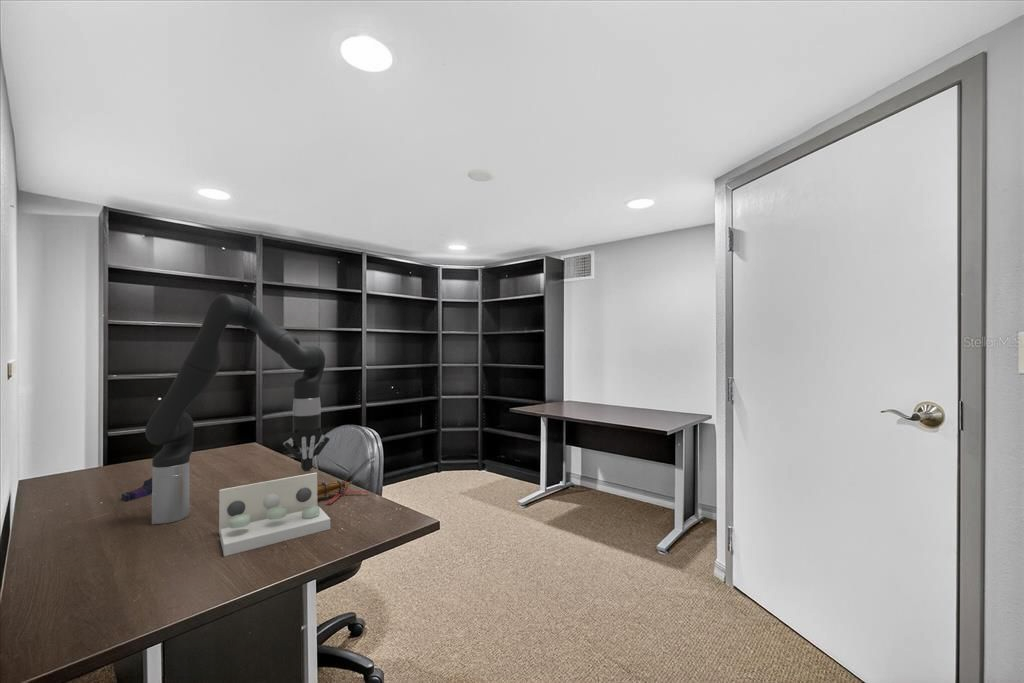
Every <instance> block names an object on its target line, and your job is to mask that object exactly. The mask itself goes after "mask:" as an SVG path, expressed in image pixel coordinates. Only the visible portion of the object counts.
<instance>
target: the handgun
mask: <svg viewBox="0 0 1024 683" xmlns="http://www.w3.org/2000/svg"><path fill="white" fill-rule="evenodd" d="M149 495H152V477H151V478H149V479H147V480H144V481H143V486H141V487H139V488H137V489H133V490H131V491H127V492H123V493H121V500H122V501H124V502H129V501H133V500H137V499H139V498H143V497H146V496H149Z"/></svg>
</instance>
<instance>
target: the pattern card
mask: <svg viewBox="0 0 1024 683" xmlns="http://www.w3.org/2000/svg"><path fill="white" fill-rule="evenodd" d="M317 485H318V472H312V473H305V474H301V475H295V476H289V477H283V478H278V479H272V480H266V481H260V482H254V483H250V484H243V485H238V486H233V487H227V488H220V489H219V490H218V494H219V496H218V497H219V498H218V499H219V500H218V505H219V506H218V507H219V508H218V513H219V514H218V517H219V518H218V519H219V520H218V522H219V524H218V526H219V527H218V535H219V537H220V529H224V528H229V519H230V518H231V517H233V516H235V515H239V514H250V523H251V522H255V521H260V520H264V519H267V510H268V509H270V508H273V507H277V506H285V507H286V515H287V514H291V513H295V512H300V511H302V509H303V508H305V507H309V506H318V498H317Z"/></svg>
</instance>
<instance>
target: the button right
mask: <svg viewBox="0 0 1024 683" xmlns="http://www.w3.org/2000/svg"><path fill="white" fill-rule="evenodd" d="M319 507H320V506H319V505H317V506H309V507H305V508H303V509H302V518H304V519H309V518H314V517H317V516H319V514H320V510H319Z"/></svg>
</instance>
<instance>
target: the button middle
mask: <svg viewBox="0 0 1024 683" xmlns="http://www.w3.org/2000/svg"><path fill="white" fill-rule="evenodd" d="M285 516H286V507H285V506H277V507H273V508H270V509H268V510H267V519H270V520H274V519H280V518H283V517H285Z"/></svg>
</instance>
